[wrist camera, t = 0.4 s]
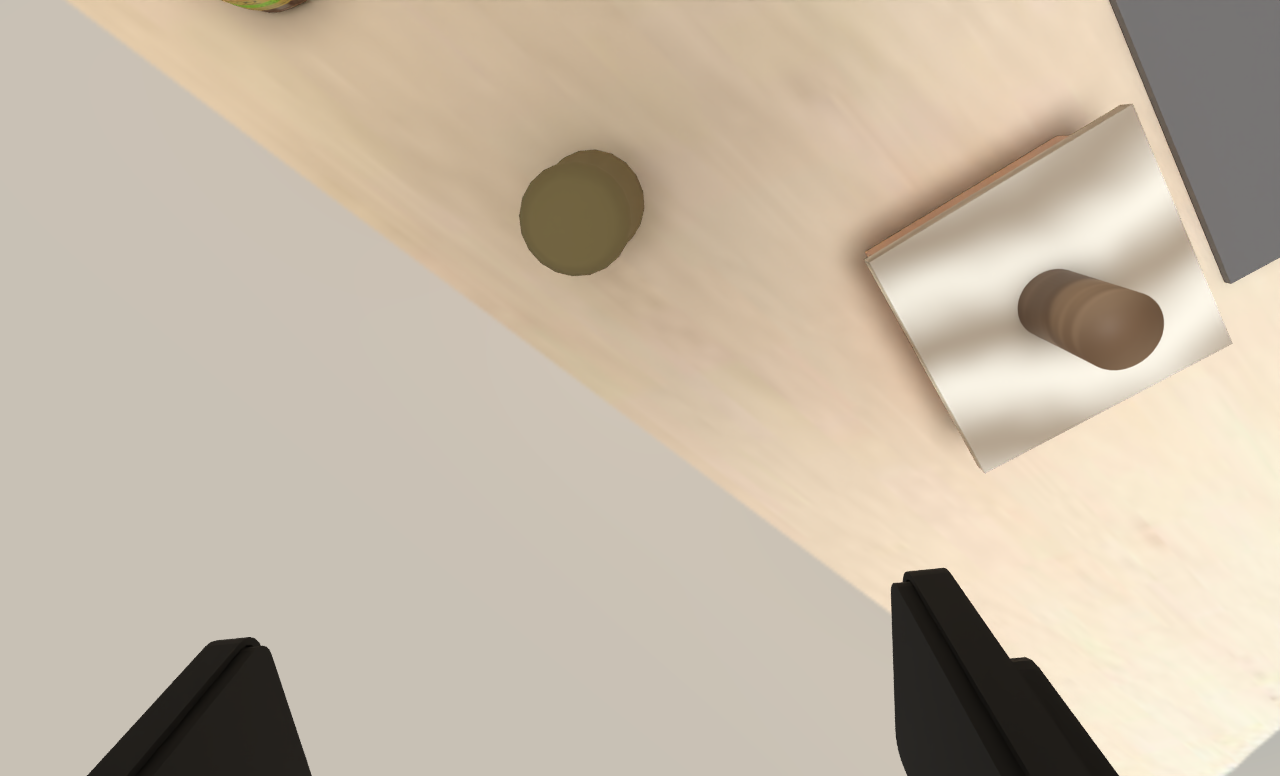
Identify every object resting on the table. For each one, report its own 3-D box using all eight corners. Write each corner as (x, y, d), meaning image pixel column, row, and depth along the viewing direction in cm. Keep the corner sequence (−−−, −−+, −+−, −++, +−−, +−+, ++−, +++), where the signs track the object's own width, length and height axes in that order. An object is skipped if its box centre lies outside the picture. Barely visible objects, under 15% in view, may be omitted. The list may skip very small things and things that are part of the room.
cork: (655, 242, 44) (654, 273, 33) (557, 266, 44) (526, 304, 34) (630, 137, 42) (621, 136, 32) (528, 164, 43) (486, 171, 32)
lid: (864, 259, 39) (906, 283, 32) (1120, 104, 36) (1224, 96, 30) (977, 465, 42) (1037, 526, 36) (1218, 338, 40) (1331, 378, 33)
